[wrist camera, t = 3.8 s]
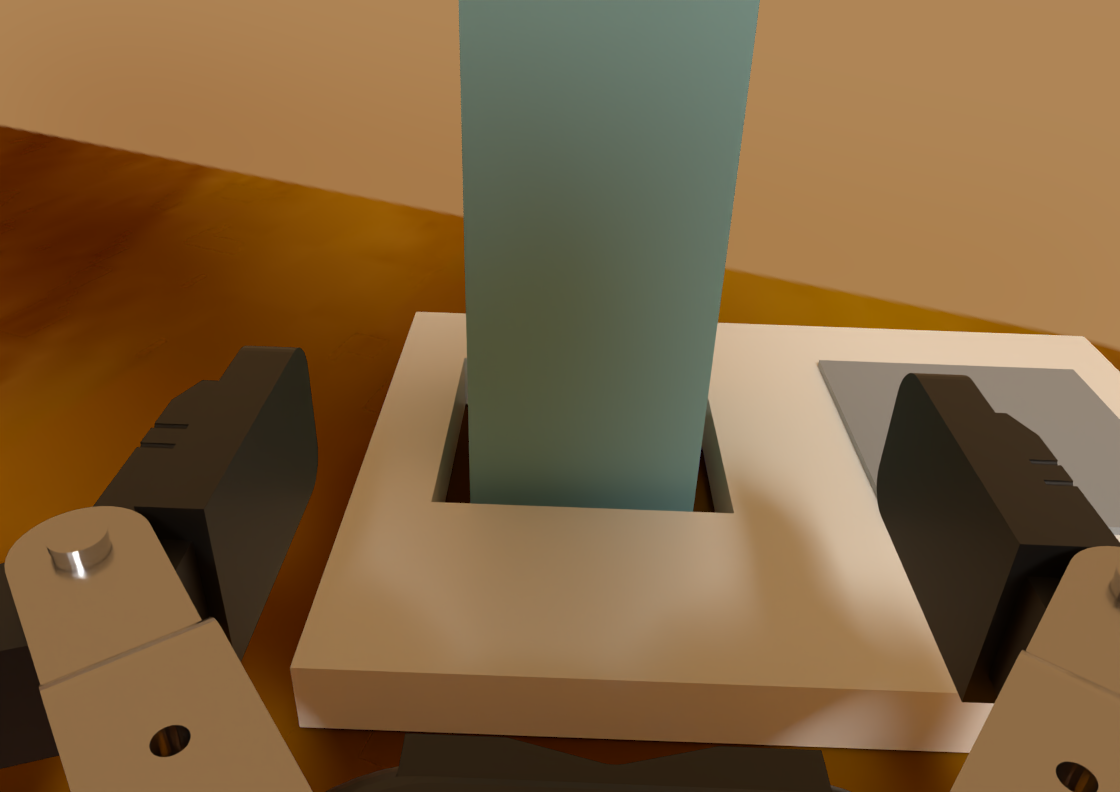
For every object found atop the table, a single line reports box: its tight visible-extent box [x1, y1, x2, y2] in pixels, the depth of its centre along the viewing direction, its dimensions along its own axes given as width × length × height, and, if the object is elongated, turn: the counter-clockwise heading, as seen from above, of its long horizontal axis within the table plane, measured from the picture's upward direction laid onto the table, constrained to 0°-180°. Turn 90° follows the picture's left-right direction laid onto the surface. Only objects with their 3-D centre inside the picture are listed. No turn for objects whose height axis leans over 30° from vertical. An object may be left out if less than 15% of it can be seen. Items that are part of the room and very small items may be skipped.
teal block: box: [459, 0, 760, 512], centre depth 20 cm, size 5×5×12 cm
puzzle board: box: [290, 312, 1120, 753], centre depth 22 cm, size 20×14×2 cm
